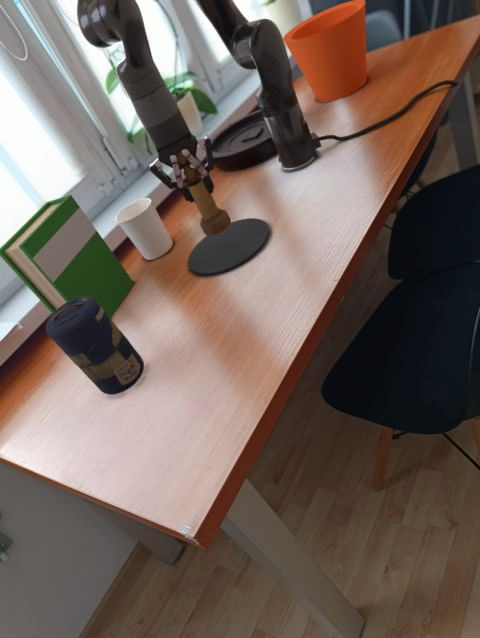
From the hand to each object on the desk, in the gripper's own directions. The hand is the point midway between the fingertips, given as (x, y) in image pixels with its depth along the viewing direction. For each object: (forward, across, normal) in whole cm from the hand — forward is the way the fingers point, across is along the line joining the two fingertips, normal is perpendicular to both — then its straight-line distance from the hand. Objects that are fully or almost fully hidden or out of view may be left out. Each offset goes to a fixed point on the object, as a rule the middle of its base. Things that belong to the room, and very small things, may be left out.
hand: (201, 195), depth 101 cm
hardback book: (+14, -32, -2) cm, 35 cm away
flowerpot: (+13, +48, +66) cm, 83 cm away
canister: (+14, -25, -30) cm, 41 cm away
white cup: (+14, -18, +15) cm, 27 cm away
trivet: (+13, 0, 0) cm, 13 cm away
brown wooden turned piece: (+8, 0, 0) cm, 8 cm away
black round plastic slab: (+13, +16, +52) cm, 56 cm away
